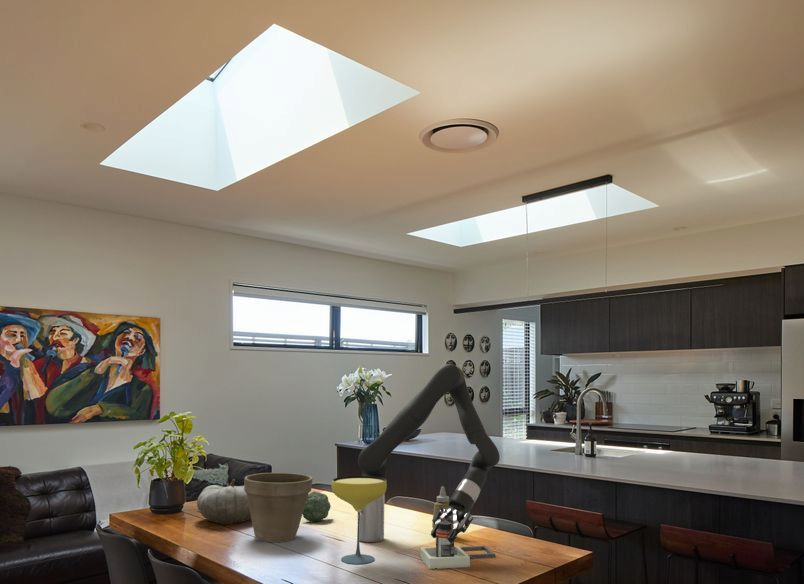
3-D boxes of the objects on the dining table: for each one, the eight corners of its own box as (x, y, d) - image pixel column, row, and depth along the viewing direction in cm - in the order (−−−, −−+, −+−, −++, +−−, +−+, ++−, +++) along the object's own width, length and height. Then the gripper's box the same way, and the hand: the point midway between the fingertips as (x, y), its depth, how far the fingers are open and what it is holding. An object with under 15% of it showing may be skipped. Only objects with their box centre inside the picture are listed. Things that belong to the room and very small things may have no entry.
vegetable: (326, 509, 267) (339, 498, 257) (311, 534, 258) (325, 524, 248) (303, 493, 266) (316, 481, 256) (288, 518, 257) (300, 507, 247)
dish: (429, 568, 190) (429, 558, 191) (420, 557, 203) (420, 547, 203) (469, 566, 193) (469, 556, 193) (458, 555, 205) (458, 546, 206)
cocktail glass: (325, 567, 191) (327, 483, 195) (334, 551, 209) (336, 475, 213) (383, 568, 190) (384, 484, 194) (387, 552, 208) (388, 476, 212)
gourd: (225, 524, 234) (226, 477, 240) (181, 528, 246) (183, 482, 252) (272, 520, 254) (271, 476, 260) (229, 523, 267) (230, 481, 272)
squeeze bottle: (452, 539, 226) (452, 488, 228) (430, 538, 227) (430, 488, 230) (455, 534, 233) (454, 485, 236) (433, 533, 235) (433, 484, 238)
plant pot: (323, 534, 232) (325, 474, 236) (284, 549, 210) (287, 484, 214) (269, 527, 243) (271, 470, 246) (227, 541, 221) (230, 478, 224)
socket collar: (465, 558, 202) (465, 555, 202) (456, 550, 212) (456, 546, 212) (495, 557, 204) (495, 553, 204) (485, 548, 214) (485, 545, 214)
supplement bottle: (437, 555, 202) (437, 519, 203) (455, 557, 200) (455, 521, 202) (434, 560, 196) (434, 523, 197) (452, 562, 194) (453, 525, 196)
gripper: (443, 486, 211) (419, 527, 202) (476, 492, 201) (451, 535, 191) (454, 500, 214) (430, 541, 204) (486, 506, 204) (463, 550, 194)
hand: (441, 538), depth 198 cm, fingers open, 6 cm apart
